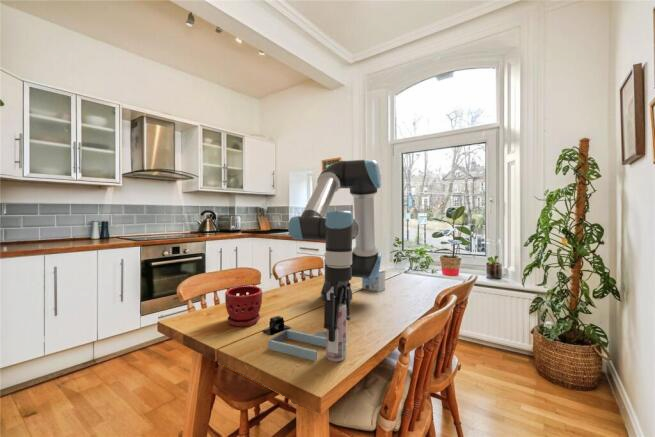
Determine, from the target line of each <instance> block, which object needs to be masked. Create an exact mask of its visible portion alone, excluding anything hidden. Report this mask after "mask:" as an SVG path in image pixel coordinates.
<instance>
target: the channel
mask: <svg viewBox="0 0 655 437" xmlns="http://www.w3.org/2000/svg"><path fill="white" fill-rule="evenodd" d="M287 339H289V340H293V341H298V342H301V343H306V344H310V345H315V346H320V347H323V348H326V338H325V337H320V336H315V335H314V334H310V333H305V332H300V331H296V330H292V329H288V330H287V329H286V330H284V331H282V332H280V333H277V335H276V334H275V335H274V336H273V337H272V338H270V339H268V341H267V343H268V344H267V345H268V346H267V348H268V350H271V351H274V352H278V353H283V354H286V355H290V356H294V357H298V358H302V359H306V360H309V361H314V362H316V361H317V360H318V351H317V350H315V349H311V348H306V347H302V346H297V345H293V344H290V343H286V342H284V341H285V340H287Z"/></svg>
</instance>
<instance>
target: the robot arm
mask: <svg viewBox="0 0 655 437" xmlns="http://www.w3.org/2000/svg"><path fill="white" fill-rule="evenodd" d="M316 183H317V184H316V187H315V188H314V191H313V192H312V194H311V196H310V198H309V200H308V202H307V204H306V206H305V207H304V210H303V212H302V213H301V214H300V216H299V215H297V216H292V217H291V218H290V219H289V222H288V228H287V229H288V234H289V236H290V238H291V239H292V240H293V239H294V240H301V241H325V253H324V260H323V261H324V283H323V285H322V288H321V291H320V300H323V301H324V314H323V315H324V316H323V317H324V319H323V329H325V330H326V329H328V352H332V353H336V354H337V353H338V329H337V321H338V313H339V305H340V304H343V303H345V304H346V344H347V343H348V341H347V340H348V337H347V334H348V332H347V330H348V329H347V328H348V321H350V320H351V301H352V300H353V291H352V288H351V286H352V284H351V282H350V281H351V280H352V279H353V278H360V279H362V278H368V279H369V278H377V277H378V276H379V270H380V269H381V262H382V253H381V252H379V248H378V247H377V246H376V244H375V242H376V241H375V240H376V239H375V237H376V236H375V199H374V196H375V195H376V194H377V193H378V189H380V188H381V186H382V184H381V183H382V180H381V171H380V167H379V163H378V161H376V160H373V159H356V160H354V159H353V160H352V159H351V160H340V161H335V162H334V163H332V164H330V165H328V166H327V167H326V168H324V169H323V170H322V172H320V174H319V176H318V177H317V181H316ZM339 189H349V193H350V194H351V196H353V212H354V214H353V213H352V211H350V210H328V209H329V207H330V205H331V202H332V200H333V198H334V196H335V193H336V192H337V193H338V191H339ZM353 215H354V218H353ZM353 240H355V247H352V246H353Z"/></svg>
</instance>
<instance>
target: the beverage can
mask: <svg viewBox="0 0 655 437" xmlns="http://www.w3.org/2000/svg"><path fill="white" fill-rule="evenodd" d="M346 321H347V320H346V304H345V303H343V304H340V305H339V313H338V321H337V329H338V353H337V354H336V353H332V352H328V329H325V330H326V331H325V332H326V347H325V357H326V359H328V360H329V361H331V362H341V361H344V360H345V359H346V357H347V343H346Z"/></svg>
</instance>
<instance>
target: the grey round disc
mask: <svg viewBox="0 0 655 437" xmlns="http://www.w3.org/2000/svg"><path fill="white" fill-rule="evenodd" d="M313 335H315V336H320V337H325V338H326V331H318V332H316V333H314V334H313Z"/></svg>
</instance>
